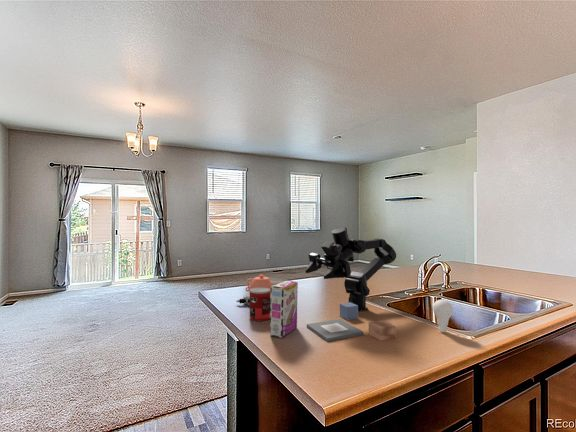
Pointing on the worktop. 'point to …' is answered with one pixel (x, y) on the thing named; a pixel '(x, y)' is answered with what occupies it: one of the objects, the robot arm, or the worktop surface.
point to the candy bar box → (283, 308)
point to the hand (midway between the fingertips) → (314, 274)
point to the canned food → (259, 304)
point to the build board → (334, 330)
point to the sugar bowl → (260, 283)
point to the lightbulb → (442, 313)
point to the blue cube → (348, 311)
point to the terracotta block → (381, 330)
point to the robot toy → (247, 300)
